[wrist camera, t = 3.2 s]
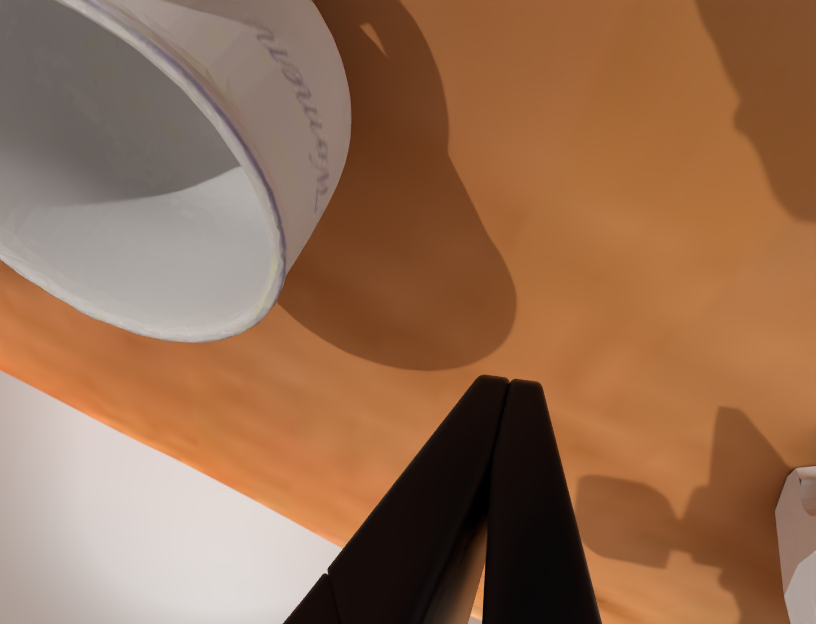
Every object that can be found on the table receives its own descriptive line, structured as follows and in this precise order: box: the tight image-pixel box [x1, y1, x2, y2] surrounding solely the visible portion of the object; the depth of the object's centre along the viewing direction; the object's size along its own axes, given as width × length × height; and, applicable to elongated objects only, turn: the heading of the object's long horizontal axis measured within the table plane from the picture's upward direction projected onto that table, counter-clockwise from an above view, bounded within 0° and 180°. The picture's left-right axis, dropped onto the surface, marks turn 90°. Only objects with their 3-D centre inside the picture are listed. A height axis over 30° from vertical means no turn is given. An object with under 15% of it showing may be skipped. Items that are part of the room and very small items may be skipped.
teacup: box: [0, 0, 351, 343], centre depth 18 cm, size 14×11×8 cm
